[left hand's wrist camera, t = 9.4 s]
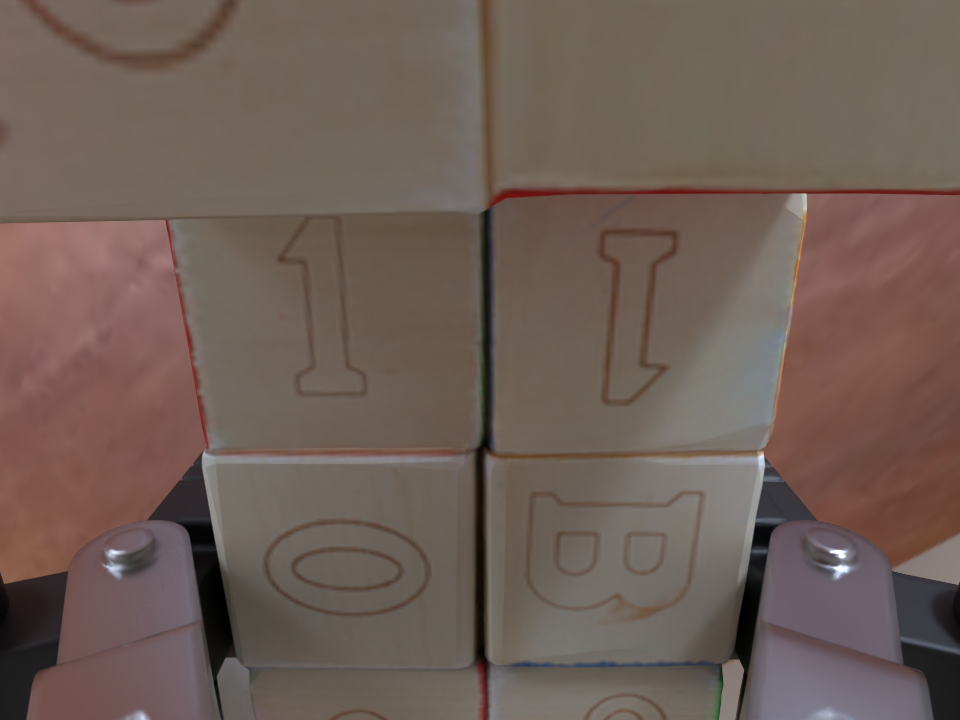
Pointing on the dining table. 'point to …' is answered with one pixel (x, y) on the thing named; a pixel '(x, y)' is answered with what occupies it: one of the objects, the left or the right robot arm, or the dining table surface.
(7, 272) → the dining table surface
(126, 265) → the dining table surface
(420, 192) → the stack of blocks
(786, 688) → the left robot arm
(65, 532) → the dining table surface
